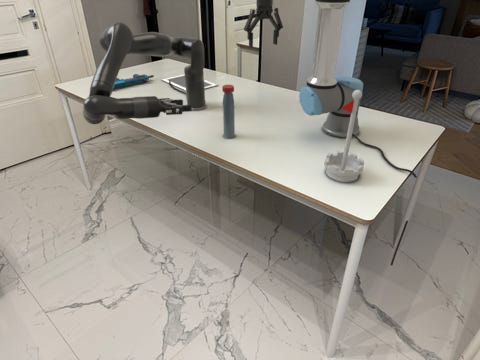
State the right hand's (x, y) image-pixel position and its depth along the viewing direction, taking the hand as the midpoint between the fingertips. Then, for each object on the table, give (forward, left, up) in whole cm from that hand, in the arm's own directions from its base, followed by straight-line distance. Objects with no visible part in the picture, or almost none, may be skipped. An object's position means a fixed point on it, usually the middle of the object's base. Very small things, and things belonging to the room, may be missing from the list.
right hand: (263, 45), depth 167 cm
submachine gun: (+64, +62, -28) cm, 93 cm away
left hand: (-35, +51, -10) cm, 63 cm away
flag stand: (-78, +10, -28) cm, 84 cm away
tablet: (+46, +26, -28) cm, 60 cm away
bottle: (-33, +33, -28) cm, 55 cm away
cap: (-33, +33, -7) cm, 47 cm away
